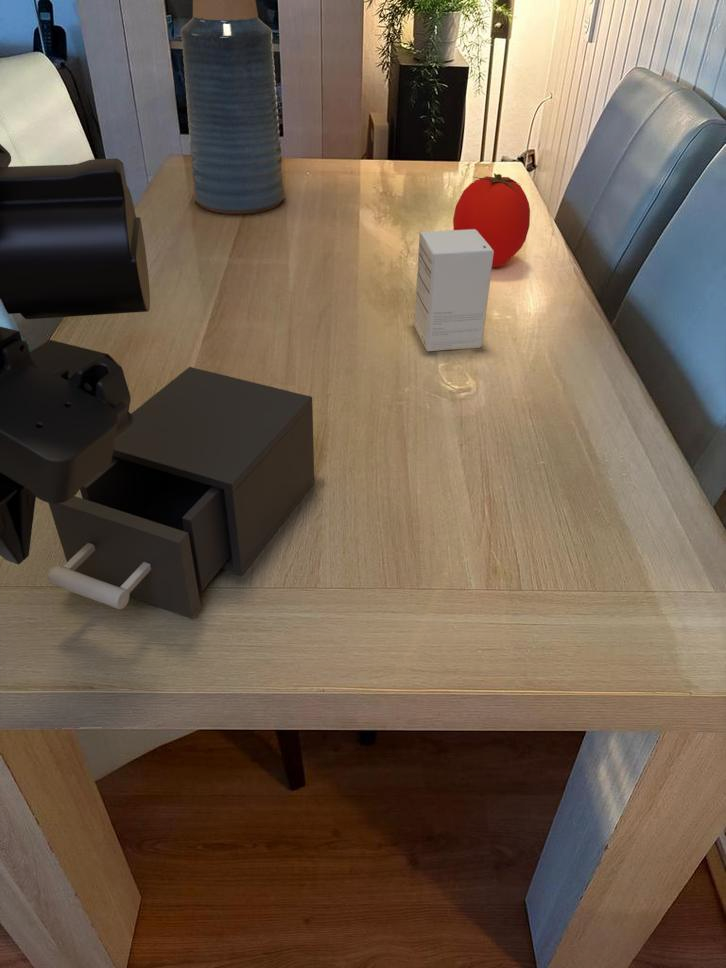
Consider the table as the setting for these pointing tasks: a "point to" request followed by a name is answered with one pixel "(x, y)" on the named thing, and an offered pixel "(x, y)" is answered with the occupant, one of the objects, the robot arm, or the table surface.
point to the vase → (232, 108)
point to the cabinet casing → (229, 449)
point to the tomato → (495, 215)
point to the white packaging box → (452, 289)
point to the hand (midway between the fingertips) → (17, 559)
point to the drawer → (142, 538)
